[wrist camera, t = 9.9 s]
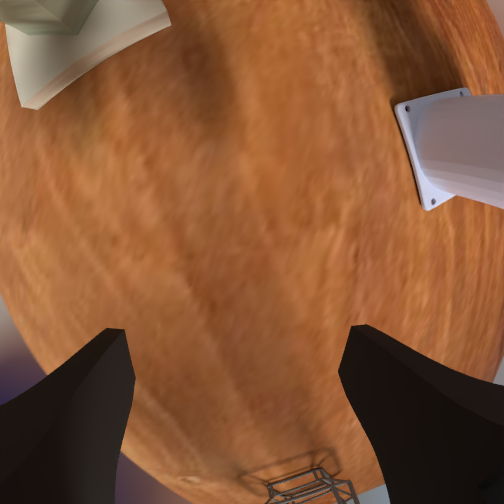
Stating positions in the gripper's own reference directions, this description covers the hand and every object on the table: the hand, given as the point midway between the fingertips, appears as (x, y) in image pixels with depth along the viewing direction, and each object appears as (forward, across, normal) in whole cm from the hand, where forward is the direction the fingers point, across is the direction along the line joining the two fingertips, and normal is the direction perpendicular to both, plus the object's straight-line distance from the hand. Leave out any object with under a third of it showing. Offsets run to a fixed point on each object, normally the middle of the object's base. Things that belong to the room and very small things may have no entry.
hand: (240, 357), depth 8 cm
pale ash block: (+9, +11, -16) cm, 22 cm away
